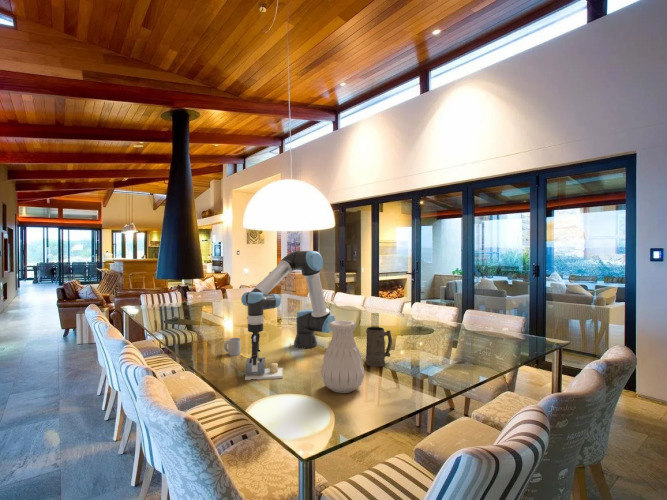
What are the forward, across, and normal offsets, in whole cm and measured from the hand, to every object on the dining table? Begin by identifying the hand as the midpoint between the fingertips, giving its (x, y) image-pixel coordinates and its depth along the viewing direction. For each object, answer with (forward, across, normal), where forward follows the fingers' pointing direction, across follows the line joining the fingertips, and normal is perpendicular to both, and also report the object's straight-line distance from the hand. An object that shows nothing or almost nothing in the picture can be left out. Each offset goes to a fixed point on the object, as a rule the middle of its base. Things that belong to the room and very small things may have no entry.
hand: (255, 368), depth 180 cm
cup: (+4, -39, -16) cm, 43 cm away
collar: (+1, 0, 0) cm, 1 cm away
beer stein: (+4, -10, +67) cm, 67 cm away
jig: (+4, 0, +5) cm, 6 cm away
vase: (+4, +23, +41) cm, 47 cm away
